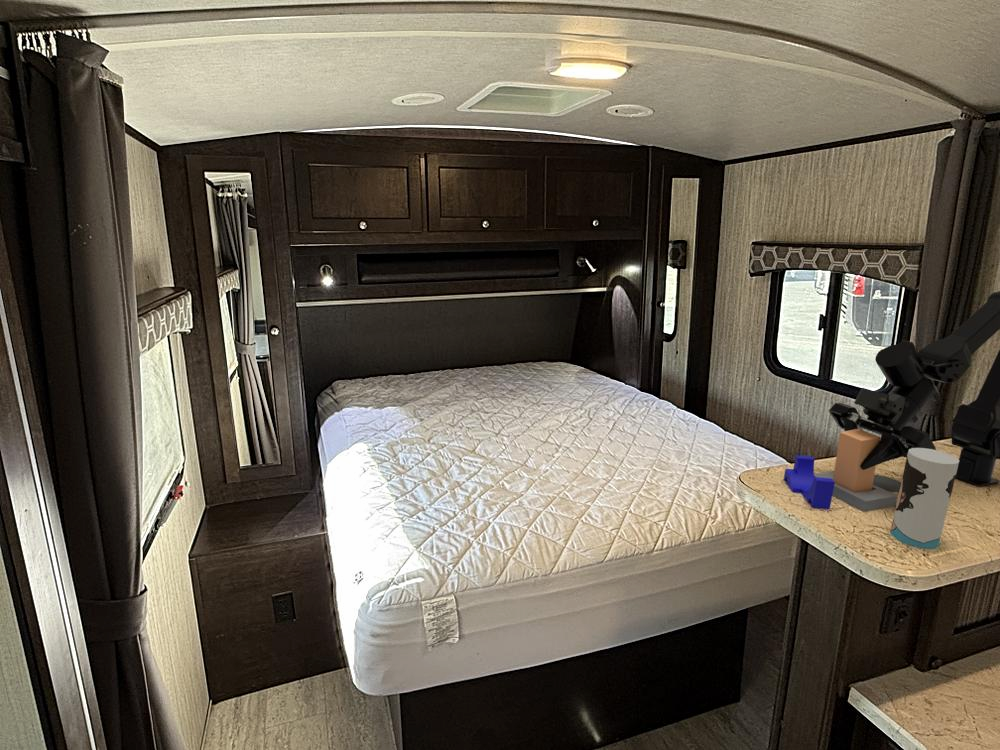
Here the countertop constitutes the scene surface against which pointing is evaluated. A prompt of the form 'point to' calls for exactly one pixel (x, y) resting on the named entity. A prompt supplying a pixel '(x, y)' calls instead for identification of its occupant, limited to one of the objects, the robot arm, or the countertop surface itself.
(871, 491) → the socket block
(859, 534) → the countertop surface
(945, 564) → the countertop surface
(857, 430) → the tan rectangular block
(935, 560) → the countertop surface
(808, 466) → the cable clip
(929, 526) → the cup
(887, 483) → the coaster
